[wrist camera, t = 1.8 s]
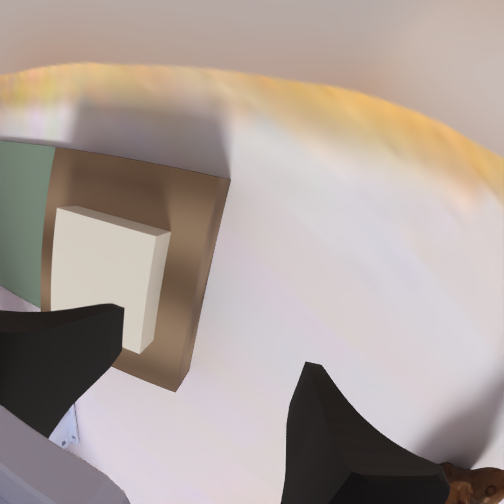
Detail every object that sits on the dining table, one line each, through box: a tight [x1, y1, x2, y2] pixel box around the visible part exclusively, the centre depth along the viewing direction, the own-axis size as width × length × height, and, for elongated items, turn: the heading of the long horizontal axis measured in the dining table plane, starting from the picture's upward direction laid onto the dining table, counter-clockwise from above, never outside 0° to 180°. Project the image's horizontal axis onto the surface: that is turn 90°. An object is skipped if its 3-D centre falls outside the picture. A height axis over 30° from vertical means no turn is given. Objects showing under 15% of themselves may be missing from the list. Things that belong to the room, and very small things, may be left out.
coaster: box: [51, 206, 171, 354], centre depth 17 cm, size 7×7×2 cm
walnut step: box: [41, 147, 231, 392], centre depth 20 cm, size 14×12×3 cm
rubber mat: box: [0, 141, 73, 308], centre depth 22 cm, size 14×12×1 cm
